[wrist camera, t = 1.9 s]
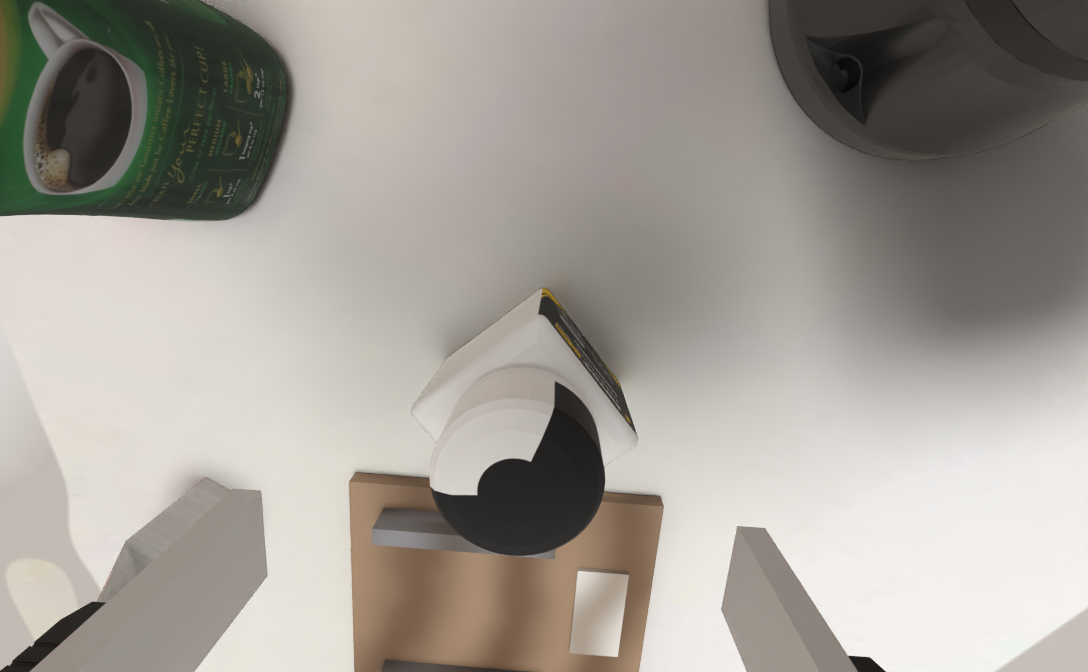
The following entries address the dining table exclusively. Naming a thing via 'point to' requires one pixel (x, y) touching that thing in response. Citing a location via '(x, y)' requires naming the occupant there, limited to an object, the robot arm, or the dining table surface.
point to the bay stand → (495, 588)
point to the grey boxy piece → (161, 534)
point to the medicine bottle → (523, 431)
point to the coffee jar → (134, 109)
